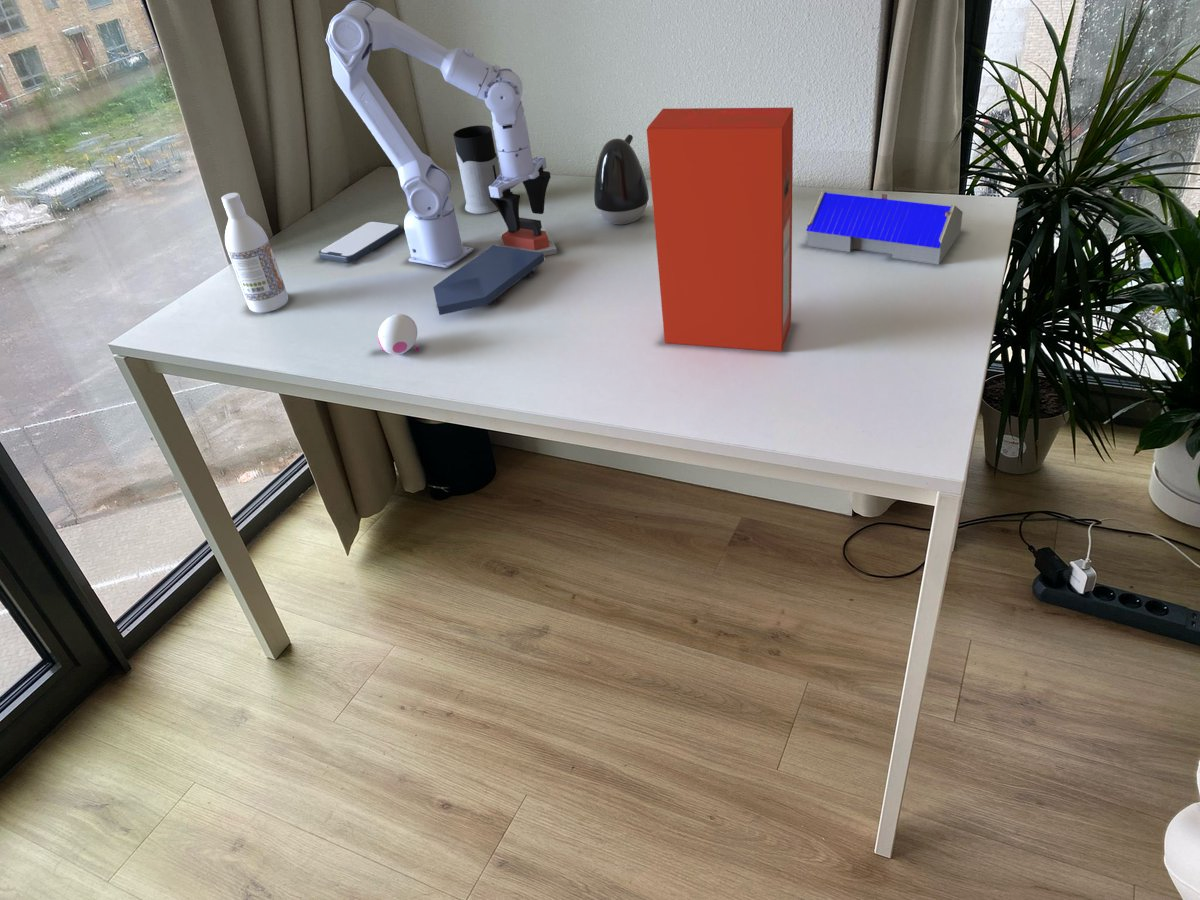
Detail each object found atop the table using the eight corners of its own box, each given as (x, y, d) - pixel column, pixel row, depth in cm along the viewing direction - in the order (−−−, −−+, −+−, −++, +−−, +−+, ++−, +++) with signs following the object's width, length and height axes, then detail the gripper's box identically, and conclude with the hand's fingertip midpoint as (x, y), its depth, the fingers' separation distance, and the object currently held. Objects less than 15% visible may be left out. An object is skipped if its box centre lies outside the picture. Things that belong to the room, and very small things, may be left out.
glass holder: (471, 197, 195) (456, 125, 186) (537, 194, 192) (525, 120, 183) (460, 214, 188) (444, 140, 179) (528, 211, 185) (516, 135, 176)
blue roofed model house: (961, 231, 156) (966, 189, 152) (937, 266, 147) (942, 222, 143) (835, 215, 167) (836, 176, 163) (805, 247, 158) (806, 206, 154)
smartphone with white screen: (371, 227, 188) (317, 260, 177) (369, 220, 187) (314, 252, 176) (405, 232, 184) (352, 265, 173) (403, 224, 183) (349, 257, 172)
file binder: (781, 353, 132) (782, 127, 113) (664, 344, 138) (646, 127, 119) (791, 325, 138) (793, 106, 119) (678, 318, 143) (663, 107, 125)
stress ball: (400, 357, 150) (369, 328, 147) (434, 329, 147) (403, 299, 144) (389, 381, 144) (356, 351, 141) (424, 352, 141) (391, 321, 138)
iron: (500, 251, 171) (495, 222, 168) (516, 239, 174) (511, 211, 171) (549, 259, 166) (545, 229, 163) (564, 247, 169) (560, 218, 166)
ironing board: (416, 317, 154) (411, 301, 152) (496, 260, 168) (493, 244, 166) (468, 329, 148) (464, 312, 147) (546, 268, 163) (543, 252, 161)
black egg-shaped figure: (660, 211, 178) (654, 131, 169) (633, 233, 171) (625, 151, 162) (615, 205, 183) (607, 127, 174) (586, 226, 176) (576, 146, 167)
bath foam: (292, 306, 162) (254, 196, 150) (252, 318, 160) (211, 207, 148) (285, 291, 168) (248, 184, 156) (246, 302, 165) (205, 195, 154)
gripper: (507, 163, 153) (521, 240, 161) (555, 133, 162) (566, 208, 170) (473, 160, 156) (488, 235, 164) (523, 131, 165) (535, 204, 173)
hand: (526, 221), depth 167 cm, fingers open, 7 cm apart
